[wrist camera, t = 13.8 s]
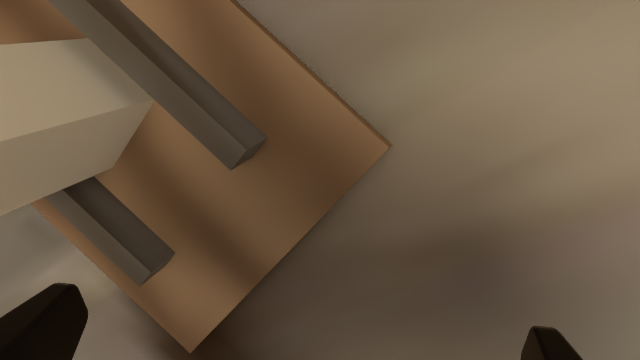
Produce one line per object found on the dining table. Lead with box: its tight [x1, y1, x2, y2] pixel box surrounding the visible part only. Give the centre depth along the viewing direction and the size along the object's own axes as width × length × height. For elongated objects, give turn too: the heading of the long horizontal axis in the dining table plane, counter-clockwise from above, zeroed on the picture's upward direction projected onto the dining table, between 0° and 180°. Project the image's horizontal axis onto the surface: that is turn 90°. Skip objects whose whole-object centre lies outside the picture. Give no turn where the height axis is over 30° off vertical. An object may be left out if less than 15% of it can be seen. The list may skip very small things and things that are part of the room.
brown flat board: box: [0, 0, 391, 353], centre depth 22 cm, size 16×22×2 cm
